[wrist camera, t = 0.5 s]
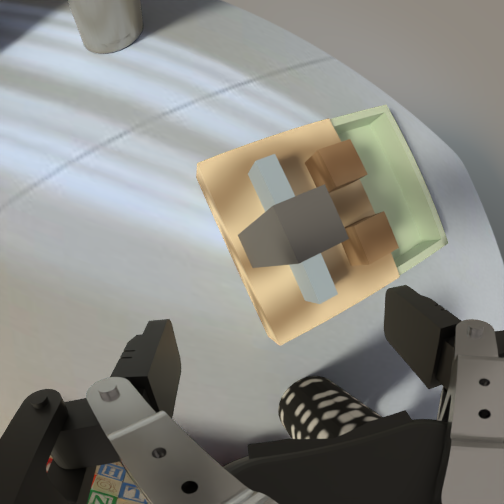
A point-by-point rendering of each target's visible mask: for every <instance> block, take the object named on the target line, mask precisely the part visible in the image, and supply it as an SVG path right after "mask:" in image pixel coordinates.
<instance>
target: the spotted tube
mask: <svg viewBox="0 0 504 504" xmlns="http://www.w3.org/2000/svg"><path fill="white" fill-rule="evenodd" d="M279 417H280V421H281V422H282V424H283V426H284V427H285V429H286V430H287V432H288V433H289V435H290V436H291V438H292V439H329V438H336V437H338V436H341V435H343V434H345V433H347V432H349V431H351V430H353V429H355V428H358V427H360V426H362V425H364V424H366V423H368V422H370V421H372V420H376V419H379V418H383V417H381V416H380V415H379V414H377V413H376V412H374V411H373V410H371V409H370V408H368V407H367V406H366V405H364V404H363V403H361V402H360V401H358V400H357V399H356V398H354V397H353V396H351V395H350V394H348V393H347V392H346V391H344V390H343V389H341V388H340V387H339V386H337V385H336V384H335V383H333V382H332V381H330V380H329V379H327V378H324V377H319V376H312V377H306V378H304V379H301V380H299V381H297V382H296V383H294V384H293V385H292V386H290V387H289V388H288V389H287V391H286V392H285V393H284V395H283V396H282V398H281V401H280V404H279Z"/></svg>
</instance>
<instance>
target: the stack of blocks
mask: <svg viewBox="0 0 504 504" xmlns="http://www.w3.org/2000/svg"><path fill="white" fill-rule="evenodd" d="M52 459H53V458H52V456H51V455H50V457H49V460H48V462H47V466H46V471H47V472H48V469H49V467H50V464H51V462H52ZM87 504H148V502H147V501H146V499H145V498H144V497H143V495H142V494H141V492H140V491H139V490H138V488H137V487H136V485H135V484H134V482H133V481H132V480H131V478H130V477H129V475H128V474H127V472H126V471H125V469H124V467H123V466H122V464H121V463H120V462H115V463H110V464H104V465H98V466H97V467H96V471H95V474H94V478H93V482H92V486H91V490H90V494H89V498H88V502H87Z"/></svg>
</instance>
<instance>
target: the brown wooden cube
mask: <svg viewBox="0 0 504 504" xmlns="http://www.w3.org/2000/svg"><path fill="white" fill-rule="evenodd" d="M344 228H345V230H346V233H347V235H348V237H349V239H348V240H346V241H344V242H342V246H343V248H344V251H345V253H346V255H347V258H348V260H349V262H350V265H351V266H354V265H370V264H372V263H373V262H375V261H377V260H379V259H380V258H382V257H384V256H386V255H387V254H389V253H391V252H393V251H394V250H396V249H398V248H399V247H398V244H397V241H396V239H395V236H394V234H393V231H392V229H391V226H390V224H389V221H388V219H387V217H386V214H385V212H384V211H383V212H380V213H377V214H374V215H371V216H368V217H365V218H363V219H360V220H358V221H356V222H354V223H352V224H350V225H348V226H346V227H344Z"/></svg>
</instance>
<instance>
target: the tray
mask: <svg viewBox="0 0 504 504" xmlns="http://www.w3.org/2000/svg"><path fill="white" fill-rule="evenodd" d="M329 120H330V121H331V123H332V125H333V127H334V129H335V131H336V133H337V135H338V136H339V138H340V140H341V142H342V141H345V140H348V139H350V140H351V142H352V143H353V145H354V147H355V149H356V151H357V153H358V155H359V157H360V159H361V161H362V164H363V166H364V168H365V170H366V172H367V174H368V175H366V176H364V177H362V178H360V181H361V183H362V185H363V187H364V190H365V192H366V194H367V196H368V199H369V201H370V203H371V205H372V208H373V210H374V212H375V214H377V213H380V212H383V211H384V212H385V214H386V217H387V219H388V221H389V224H390V226H391V229H392V231H393V234H394V236H395V239H396V241H397V244H398V247H399V248H398V249H396V250H394V251H393V252H391V254H392V257H393V259H394V262H395V265H396V267H397V270H398V273H399V275H401V274H403V273H404V272H406V271H407V270H409V269H411V268H412V267H414V266H415V265H417V264H418V263H420V262H421V261H423V260H424V259H426V258H427V257H429V256H430V255H432V254H433V253H435V252H436V251H438V250H439V249H440V248H442V247H443V246H445V245H446V244H448V241H447V238H446V235H445V232H444V229H443V227H442V224H441V221H440V218H439V216H438V213H437V211H436V208H435V205H434V203H433V200H432V198H431V196H430V193H429V191H428V188H427V186H426V184H425V181H424V179H423V177H422V174H421V172H420V170H419V168H418V166H417V163H416V161H415V159H414V157H413V155H412V153H411V151H410V149H409V147H408V145H407V143H406V141H405V139H404V137H403V135H402V133H401V131H400V129H399V127H398V125H397V123H396V121H395V119H394V118H393V116H392V114H391V112H390V110H389V109H388V107H387V105H383V106H378V107H374V108H370V109H366V110H362V111H359V112H355V113H351V114H347V115H344V116H340V117H336V118H333V119H329Z"/></svg>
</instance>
